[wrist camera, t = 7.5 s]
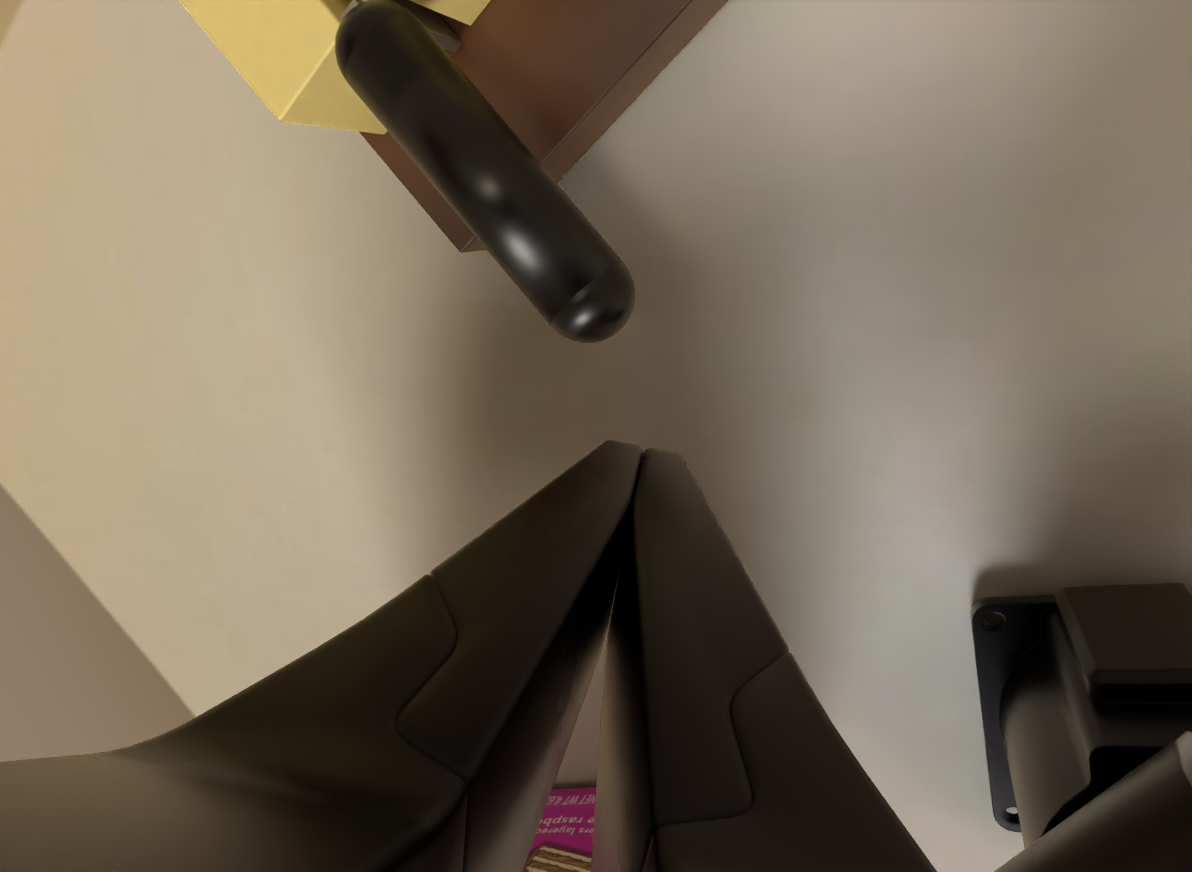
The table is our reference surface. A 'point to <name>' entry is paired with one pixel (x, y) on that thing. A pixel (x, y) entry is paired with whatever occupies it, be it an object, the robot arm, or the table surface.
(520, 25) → the board
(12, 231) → the table surface
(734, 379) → the table surface
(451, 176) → the knife
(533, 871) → the candy bar box
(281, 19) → the butter
